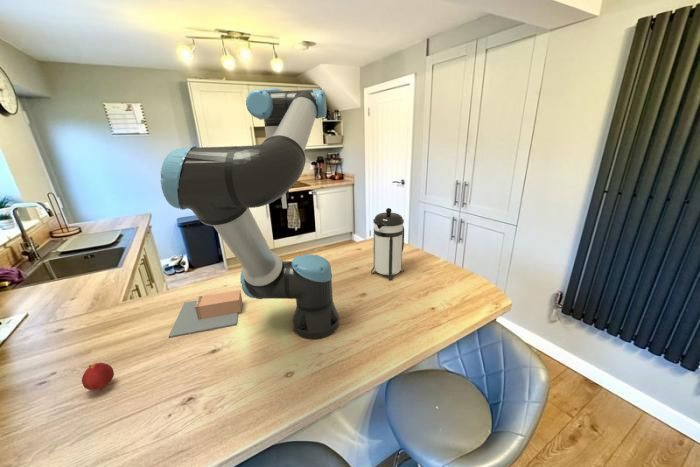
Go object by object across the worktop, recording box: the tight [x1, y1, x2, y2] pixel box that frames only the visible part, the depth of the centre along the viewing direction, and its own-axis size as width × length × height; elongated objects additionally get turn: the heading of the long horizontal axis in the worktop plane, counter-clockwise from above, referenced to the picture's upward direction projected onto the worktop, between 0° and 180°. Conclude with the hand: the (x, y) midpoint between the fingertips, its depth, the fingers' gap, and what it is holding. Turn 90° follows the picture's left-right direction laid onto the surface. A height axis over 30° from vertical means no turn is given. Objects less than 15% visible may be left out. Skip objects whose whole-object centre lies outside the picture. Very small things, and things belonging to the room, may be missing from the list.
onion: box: [81, 362, 115, 391], centre depth 69 cm, size 6×6×8 cm
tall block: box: [195, 289, 243, 320], centre depth 100 cm, size 7×5×14 cm
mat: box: [168, 300, 239, 339], centre depth 100 cm, size 20×20×1 cm
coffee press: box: [370, 207, 405, 281], centre depth 122 cm, size 17×16×30 cm
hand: (284, 207), depth 103 cm, fingers closed
